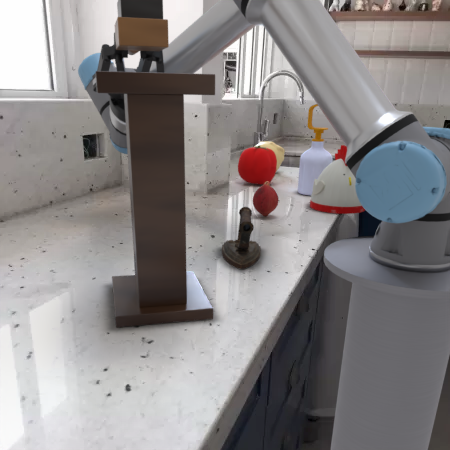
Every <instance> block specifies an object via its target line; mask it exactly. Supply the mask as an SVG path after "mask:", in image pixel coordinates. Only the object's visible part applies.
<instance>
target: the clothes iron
mask: <svg viewBox="0 0 450 450" xmlns="http://www.w3.org/2000/svg"><path fill="white" fill-rule="evenodd" d="M238 214H239V222H238V223H239V224H238V231H237V232H238V233H237V239H229V240H228V239H227V240H226V241H224V242H223V243H222V245H221V256H222V258H223V259H224V261H225V262H226V263H228V264H229V265H230V266H232V267H234V268H235V269H238V270H246V269H248V268H250V267H252V266H253V265H255V264H256V263H257V262H258V261H259V259H260V258H261V254H262V253H261V252H262V247H261V245H260V244H259V243H258V241H256V240H251V237H252V233H253V231H254V230H255V229H254V228H255V226H254V224H253V223H252V215H253V211H252V209H251V208H250V207H249V206H243V207H241V208H240V209H239V211H238Z"/></svg>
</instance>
